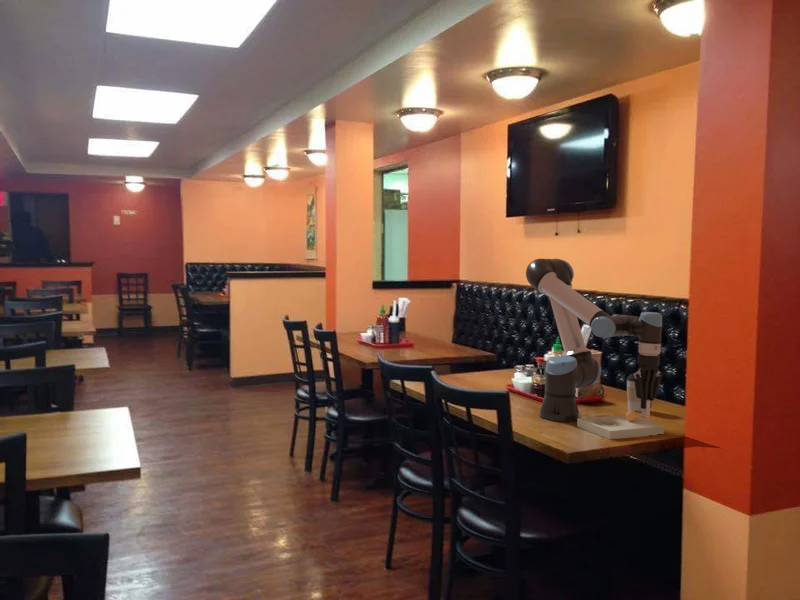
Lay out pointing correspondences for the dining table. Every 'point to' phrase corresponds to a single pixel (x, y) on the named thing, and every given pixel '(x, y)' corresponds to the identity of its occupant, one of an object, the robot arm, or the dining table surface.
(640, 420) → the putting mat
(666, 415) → the dining table surface
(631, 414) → the ball
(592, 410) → the dining table surface
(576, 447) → the dining table surface
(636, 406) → the coffee cup
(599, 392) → the tin
